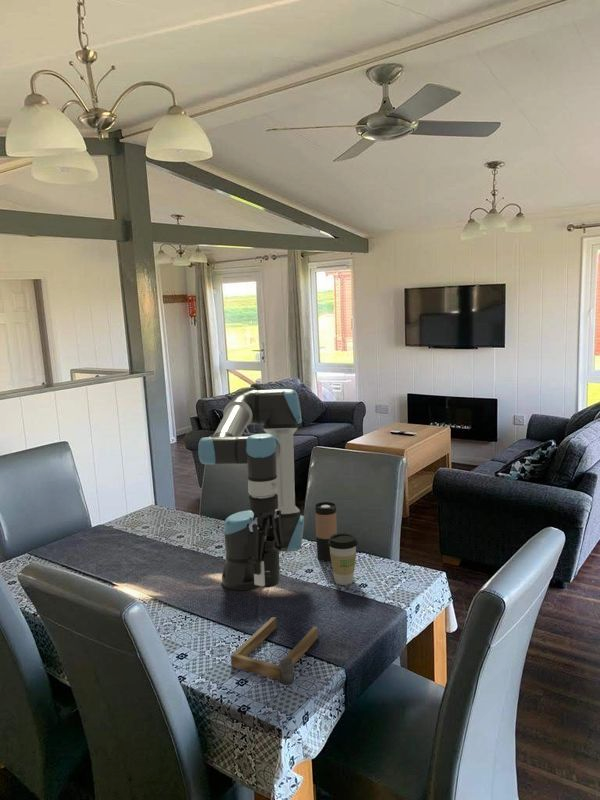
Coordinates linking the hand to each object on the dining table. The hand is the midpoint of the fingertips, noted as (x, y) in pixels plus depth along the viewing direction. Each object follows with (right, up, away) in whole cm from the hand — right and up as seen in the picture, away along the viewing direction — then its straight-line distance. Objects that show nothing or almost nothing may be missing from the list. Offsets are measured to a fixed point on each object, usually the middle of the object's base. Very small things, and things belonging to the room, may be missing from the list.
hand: (267, 579), depth 154 cm
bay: (+3, -20, 0) cm, 20 cm away
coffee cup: (+23, -13, +42) cm, 50 cm away
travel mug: (+19, -11, +61) cm, 64 cm away
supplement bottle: (0, -1, 0) cm, 1 cm away
